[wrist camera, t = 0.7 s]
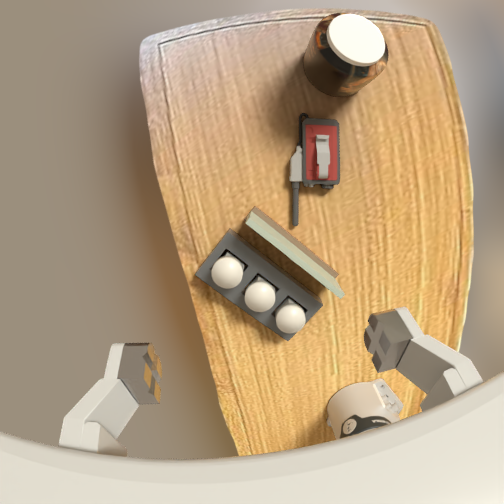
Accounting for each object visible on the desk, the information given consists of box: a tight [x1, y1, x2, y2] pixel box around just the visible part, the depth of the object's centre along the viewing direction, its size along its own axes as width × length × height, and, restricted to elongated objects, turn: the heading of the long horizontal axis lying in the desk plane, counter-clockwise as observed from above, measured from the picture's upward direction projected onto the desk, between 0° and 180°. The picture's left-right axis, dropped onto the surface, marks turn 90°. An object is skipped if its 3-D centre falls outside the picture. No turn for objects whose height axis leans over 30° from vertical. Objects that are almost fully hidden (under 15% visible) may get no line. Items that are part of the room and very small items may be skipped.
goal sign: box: [244, 206, 345, 299], centre depth 51 cm, size 20×3×8 cm, turn 52°
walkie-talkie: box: [289, 113, 340, 226], centre depth 49 cm, size 9×4×20 cm
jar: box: [303, 13, 388, 97], centre depth 38 cm, size 12×12×15 cm
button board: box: [195, 229, 323, 341], centre depth 55 cm, size 22×10×3 cm, turn 52°
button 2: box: [275, 297, 306, 333], centre depth 54 cm, size 5×5×4 cm
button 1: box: [211, 251, 245, 289], centre depth 52 cm, size 5×5×4 cm
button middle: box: [245, 275, 275, 312], centre depth 53 cm, size 5×5×4 cm
